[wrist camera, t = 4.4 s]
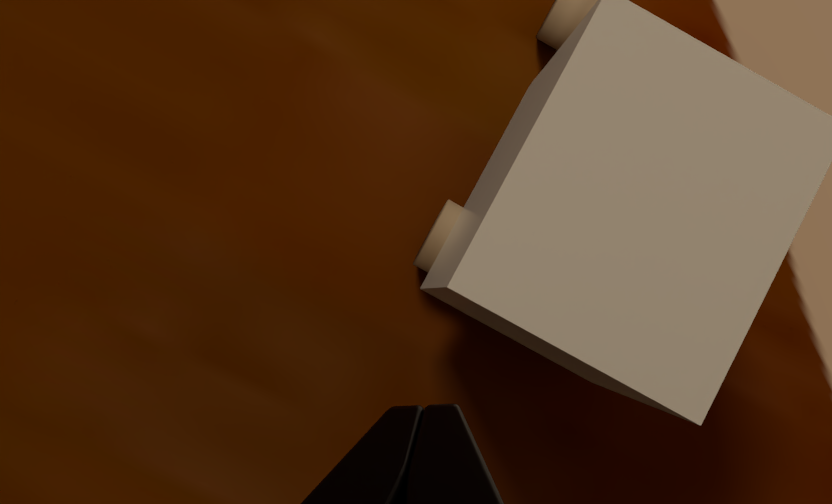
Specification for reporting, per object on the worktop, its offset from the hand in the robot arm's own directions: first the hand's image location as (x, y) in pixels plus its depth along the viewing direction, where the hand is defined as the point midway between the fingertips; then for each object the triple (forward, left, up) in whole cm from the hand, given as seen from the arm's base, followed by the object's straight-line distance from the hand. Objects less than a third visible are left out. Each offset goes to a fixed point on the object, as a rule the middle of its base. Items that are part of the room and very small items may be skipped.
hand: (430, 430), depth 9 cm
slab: (+2, -5, -9) cm, 11 cm away
